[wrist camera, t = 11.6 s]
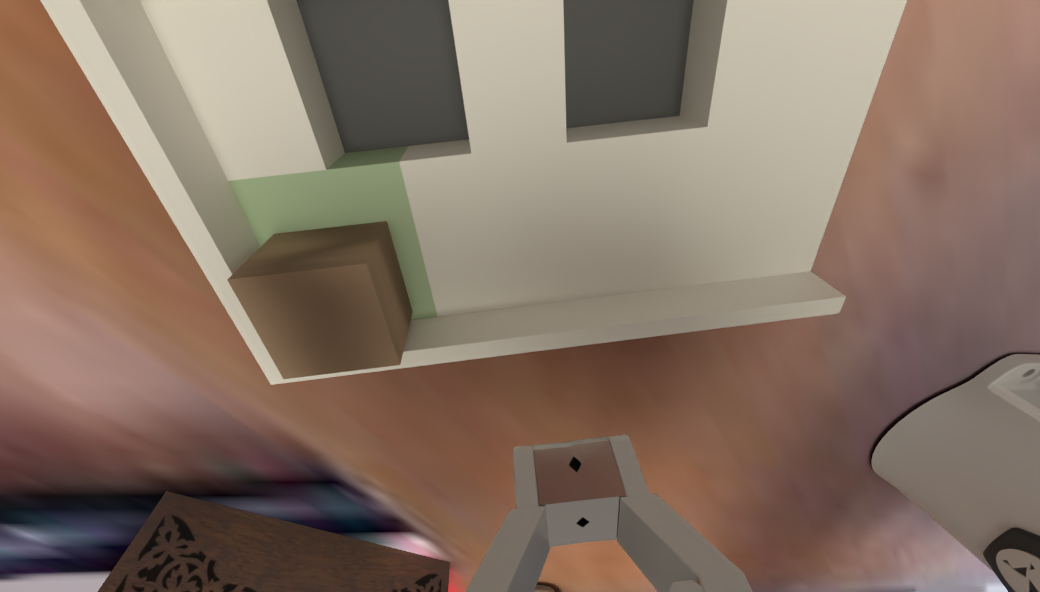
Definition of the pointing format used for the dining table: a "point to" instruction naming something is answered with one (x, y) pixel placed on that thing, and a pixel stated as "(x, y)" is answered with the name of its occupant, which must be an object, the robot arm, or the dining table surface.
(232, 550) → the tissue box cover
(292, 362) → the walnut block
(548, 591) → the can
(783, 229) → the box
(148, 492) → the dining table surface
